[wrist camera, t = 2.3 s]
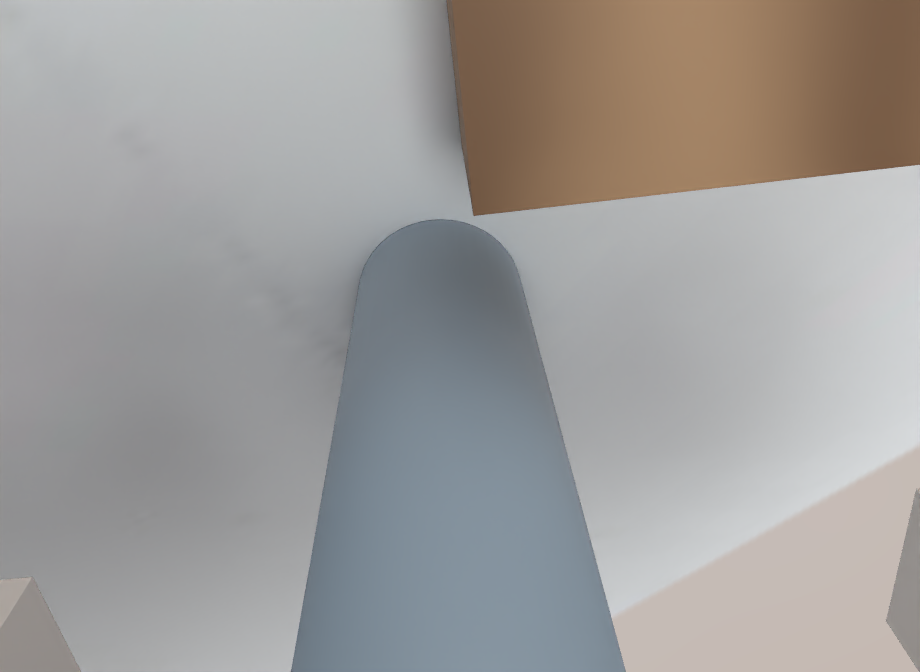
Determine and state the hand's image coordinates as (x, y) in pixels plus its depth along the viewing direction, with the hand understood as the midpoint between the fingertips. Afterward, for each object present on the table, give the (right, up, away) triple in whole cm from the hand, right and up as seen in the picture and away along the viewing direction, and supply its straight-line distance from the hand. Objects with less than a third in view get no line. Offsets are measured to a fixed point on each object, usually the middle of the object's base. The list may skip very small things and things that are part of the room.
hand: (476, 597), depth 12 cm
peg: (-1, +5, +9) cm, 10 cm away
